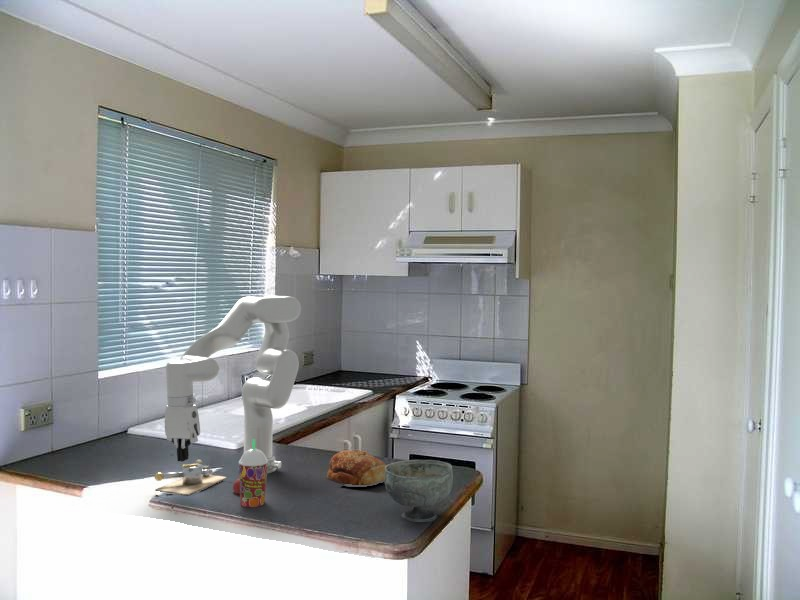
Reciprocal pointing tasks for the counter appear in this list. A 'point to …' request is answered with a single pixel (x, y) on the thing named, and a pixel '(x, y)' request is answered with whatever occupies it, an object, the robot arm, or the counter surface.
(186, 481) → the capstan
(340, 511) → the counter surface
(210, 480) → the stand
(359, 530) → the counter surface
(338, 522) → the counter surface
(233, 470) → the counter surface
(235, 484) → the fruit
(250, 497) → the smoothie
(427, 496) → the bowl
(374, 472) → the bread
